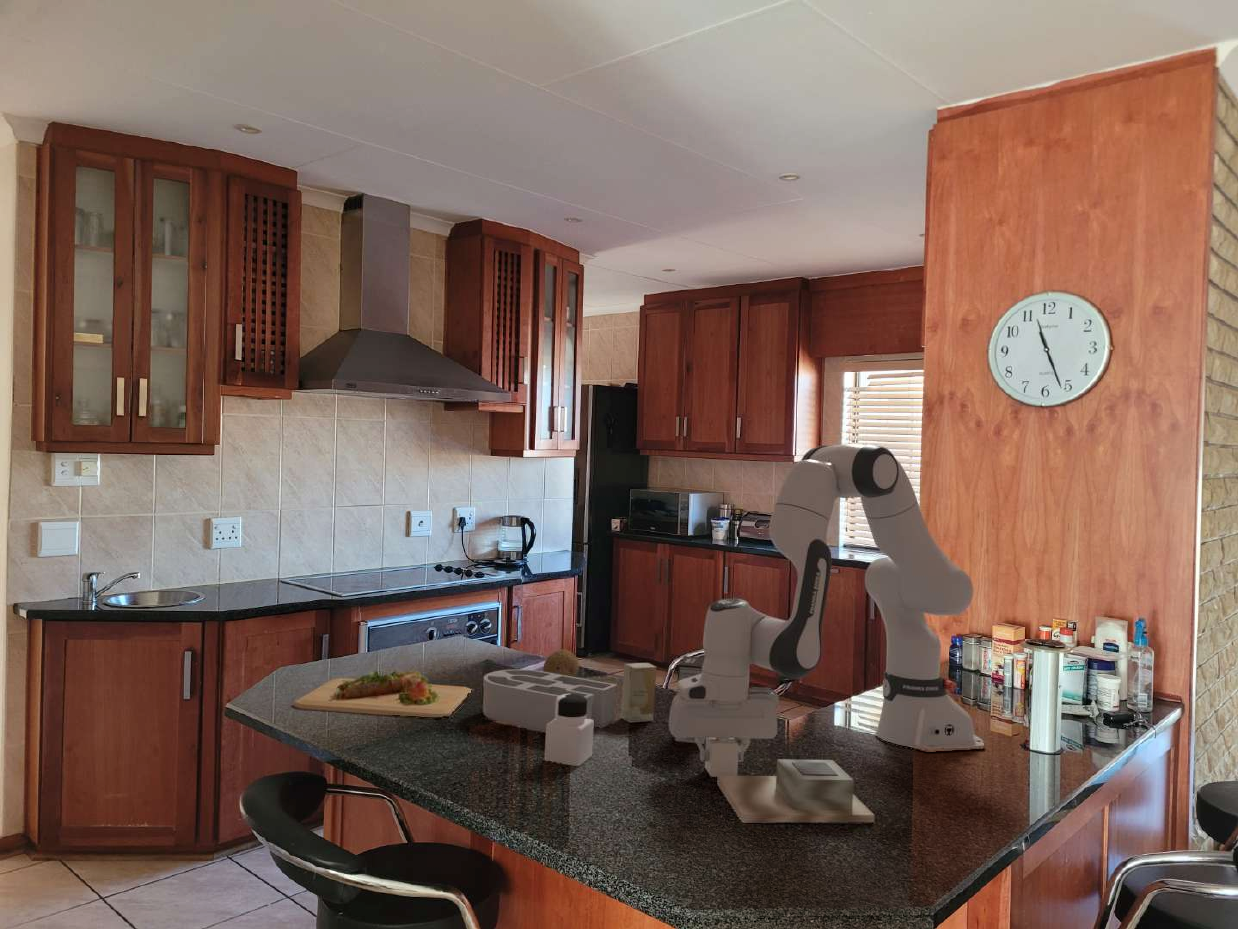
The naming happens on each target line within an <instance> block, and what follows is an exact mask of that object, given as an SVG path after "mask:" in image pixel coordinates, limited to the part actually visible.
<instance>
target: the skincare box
mask: <svg viewBox="0 0 1238 929" xmlns="http://www.w3.org/2000/svg"><path fill="white" fill-rule="evenodd" d="M623 666H624V668H623V683H622V694H621V695H622V696H621V697H622V698H621V710H620V718H621V719H622V720H623V721H626V722H627V723H629V724H630V723H632V724H633V723H640V722H653V721H654V708H655V694H656V692H655V691H656V680H657V679H656V678H657V666H655V665H654V664H652V663H650V662H635V663H624V665H623Z"/></svg>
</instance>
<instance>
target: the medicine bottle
mask: <svg viewBox="0 0 1238 929" xmlns="http://www.w3.org/2000/svg"><path fill="white" fill-rule="evenodd" d="M586 715H587V699H586V698H585V697H583V696H581V695H578V694H563V695H560V696H558V697H557V698H556V703H555V719H554V720H552V721H551V722H549V723H547V725H546V734H545V742H544V743H545V744H544V746H545V747H544V761H545V762H548V761H551V762H550V763H554V762H556V764H560V763H561V765H567V766H574V767H580V766H581V765H582V764H583V763H585V762H586V761H587V760H588V759H590V758H591V757H592V756H593V745H594V728H595V727H594V720H592V719H586Z"/></svg>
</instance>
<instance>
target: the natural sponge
mask: <svg viewBox="0 0 1238 929" xmlns="http://www.w3.org/2000/svg"><path fill="white" fill-rule="evenodd" d="M579 669H580V663H579V660H578V658H577V657H576V655H575V653H573V652H572V651H570V650H567V649H556V650H555V651H553V652H552V653H550V654H549V655H548V656H547V658H546V659H545V661H544V663H543V669H542V670H543V672H549V673H554V674H560V675H566V676H571V677H578V676H577V675H578V674H579Z"/></svg>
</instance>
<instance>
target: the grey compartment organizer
mask: <svg viewBox="0 0 1238 929" xmlns="http://www.w3.org/2000/svg"><path fill="white" fill-rule="evenodd" d="M482 683H483V684H482V685H483V701H482V703H483V704H482V712H483V716H484V715H485V716H486V717H488V718H491V719H494V720H498V721H501V722H505V723H508V724H514V725H517V726H520V727H523V728H527V729H530V730H538V731H542V732H546V725H547V723H549V722H551V721H552V720H554V719H555V703H556V698H557V697H558V696H560V695H563V694H578V695H581V696H583V697H585V698H586V699H587V715H586V719H592V720H594V726H595V727H594V728H596V727H599V728H598V729H601V728H602V729H604V728H606V727H607V725H608V726H610V725H612V724H614V721H615V716H616V714H615V713H616V712H615V711H616V697H617V696H616V694H617V693H618V684H617V683H610V682H606V681H604V682H603V681H598V680H593V679H587V678H582V677H578V676H576V677H571V676H566V675H560V674H554V673H549V672H544V671H542V670H536V669H501V670H495V671H492V672H489V673H486V674H485V675H484V676H483V682H482ZM609 724H610V725H609ZM605 726H606V727H605ZM603 727H604V728H603Z"/></svg>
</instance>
